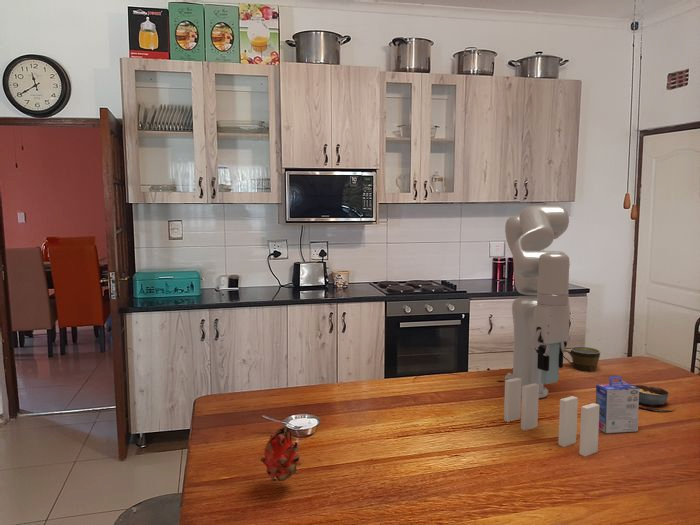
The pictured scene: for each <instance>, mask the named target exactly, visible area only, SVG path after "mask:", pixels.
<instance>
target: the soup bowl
mask: <svg viewBox="0 0 700 525" xmlns="http://www.w3.org/2000/svg"><path fill="white" fill-rule="evenodd" d="M622 382H623V383H627V382H626V381H624V380H622ZM632 385H633V386H635V387H637V388H639V404H640V405H643V406H639V407H638V409H641V408H642V410H647V411H651V410H652V411H653V412H670V411H669V409H668V410H667V409H658V408H654V407H660V406H663V405H664V404H666V401H667V400H668V397H669V391H668V390H665V389H663V388H660V387H656V386H650V385H642V384H632ZM644 406H646V407H644ZM651 407H653V408H651ZM673 411H674V412H675V409H672V410H671V412H673Z"/></svg>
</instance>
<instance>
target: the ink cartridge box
mask: <svg viewBox="0 0 700 525" xmlns="http://www.w3.org/2000/svg"><path fill="white" fill-rule="evenodd" d="M614 379H615V380H619V381H613V380H614ZM608 381H609V383H603V384H596V385H595V404H598V405H600V408H599V430H600V431H601V432H603V433H604V434H615V433H616V434H617V433H629V432H638V430H639V408H638V407H640V406H639V404H640V403H639V388H637V387H635V386H633V385H634V384H632V383H631V384H630V383H628V382H626V383H624V382H622V381H623V380H622V378H621V376H620V375H613V376H612V375H611V376H608Z"/></svg>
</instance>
